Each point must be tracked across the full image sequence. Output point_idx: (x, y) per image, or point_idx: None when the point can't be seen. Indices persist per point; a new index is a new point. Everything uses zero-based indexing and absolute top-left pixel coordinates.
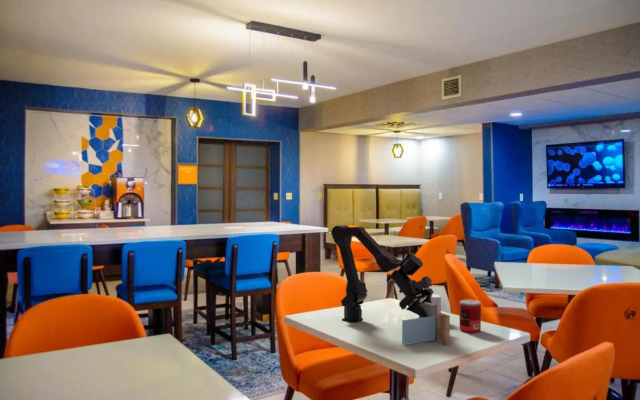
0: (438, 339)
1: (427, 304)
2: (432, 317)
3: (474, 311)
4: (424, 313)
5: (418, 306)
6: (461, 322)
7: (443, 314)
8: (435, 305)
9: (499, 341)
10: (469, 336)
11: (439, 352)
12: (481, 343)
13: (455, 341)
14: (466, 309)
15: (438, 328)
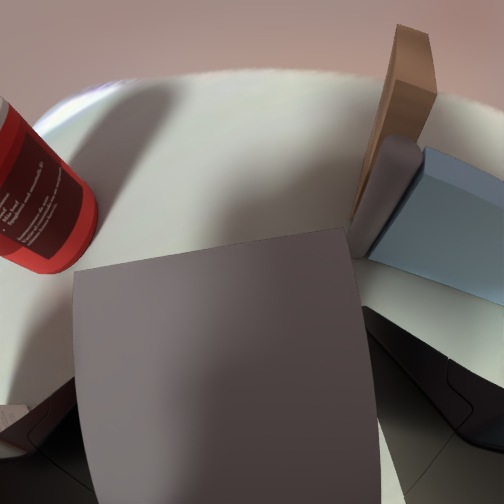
0: None
1: (240, 406)
2: (459, 161)
3: (27, 123)
4: (405, 337)
5: (502, 411)
6: (60, 227)
7: (419, 51)
8: (151, 263)
9: (158, 85)
10: (151, 173)
11: (470, 146)
12: (227, 96)
13: (287, 166)
14: (20, 143)
15: None
